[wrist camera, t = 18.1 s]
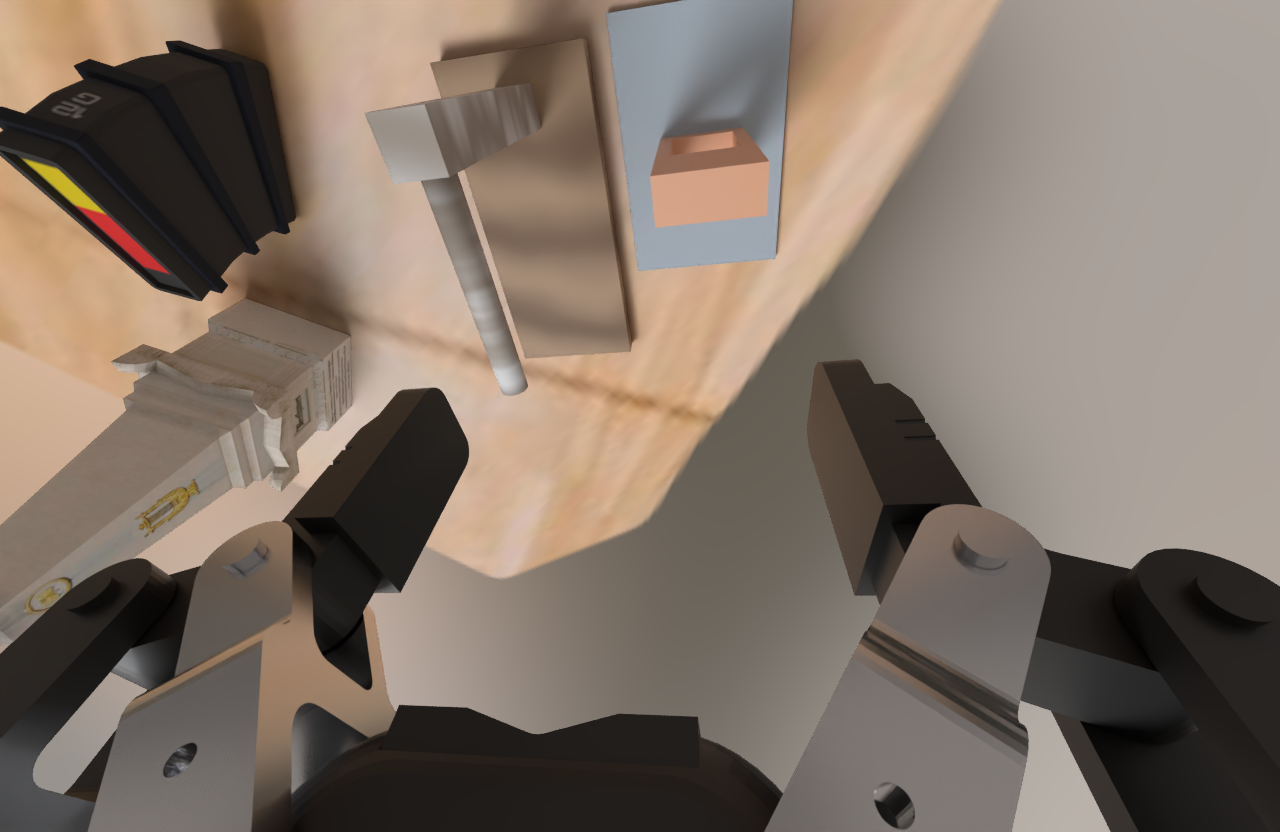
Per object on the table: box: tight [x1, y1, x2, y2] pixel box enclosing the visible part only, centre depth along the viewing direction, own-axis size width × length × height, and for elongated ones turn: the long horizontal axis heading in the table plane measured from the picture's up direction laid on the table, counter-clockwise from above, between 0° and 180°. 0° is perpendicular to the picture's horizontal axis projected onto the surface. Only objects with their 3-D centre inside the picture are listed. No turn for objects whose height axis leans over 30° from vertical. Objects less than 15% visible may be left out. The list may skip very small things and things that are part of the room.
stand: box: [365, 38, 632, 396], centre depth 29 cm, size 22×10×17 cm, turn 7°
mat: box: [606, 0, 793, 271], centre depth 32 cm, size 16×11×1 cm
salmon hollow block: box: [650, 127, 770, 228], centre depth 27 cm, size 2×6×12 cm, turn 97°
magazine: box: [0, 41, 295, 301], centre depth 30 cm, size 4×13×15 cm, turn 164°
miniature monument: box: [0, 298, 352, 646], centre depth 34 cm, size 10×10×30 cm
